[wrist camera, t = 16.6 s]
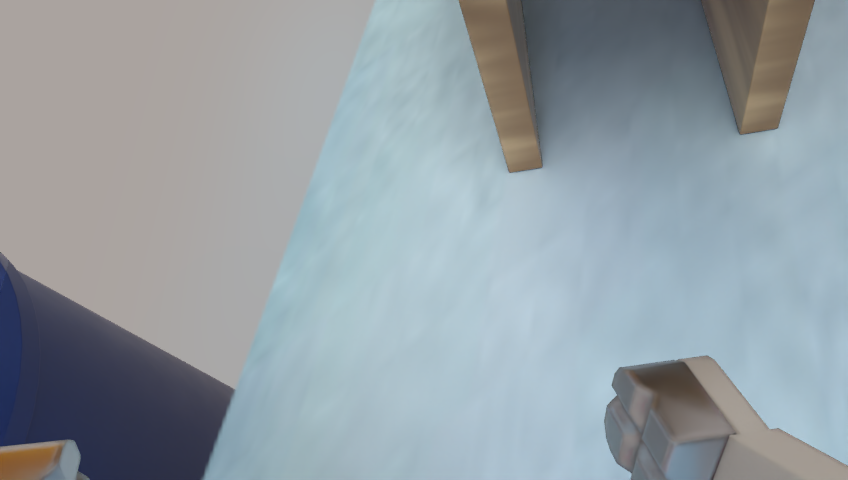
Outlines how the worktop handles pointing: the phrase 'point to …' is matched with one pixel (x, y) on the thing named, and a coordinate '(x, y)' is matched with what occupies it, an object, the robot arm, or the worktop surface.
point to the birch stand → (733, 40)
